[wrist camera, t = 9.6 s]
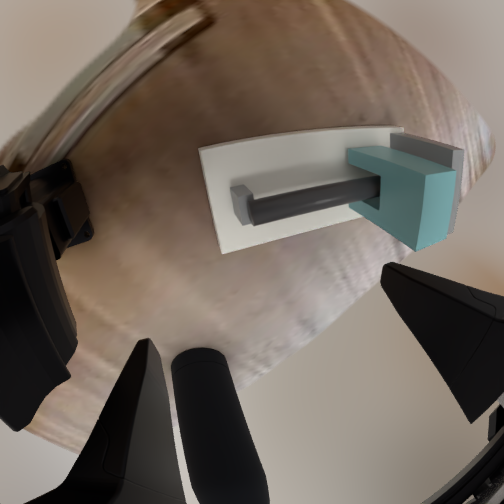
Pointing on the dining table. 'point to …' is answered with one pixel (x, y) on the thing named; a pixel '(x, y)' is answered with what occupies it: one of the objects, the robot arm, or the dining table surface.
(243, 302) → the dining table surface
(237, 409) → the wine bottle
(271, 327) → the dining table surface
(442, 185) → the teal block on rod
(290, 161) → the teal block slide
